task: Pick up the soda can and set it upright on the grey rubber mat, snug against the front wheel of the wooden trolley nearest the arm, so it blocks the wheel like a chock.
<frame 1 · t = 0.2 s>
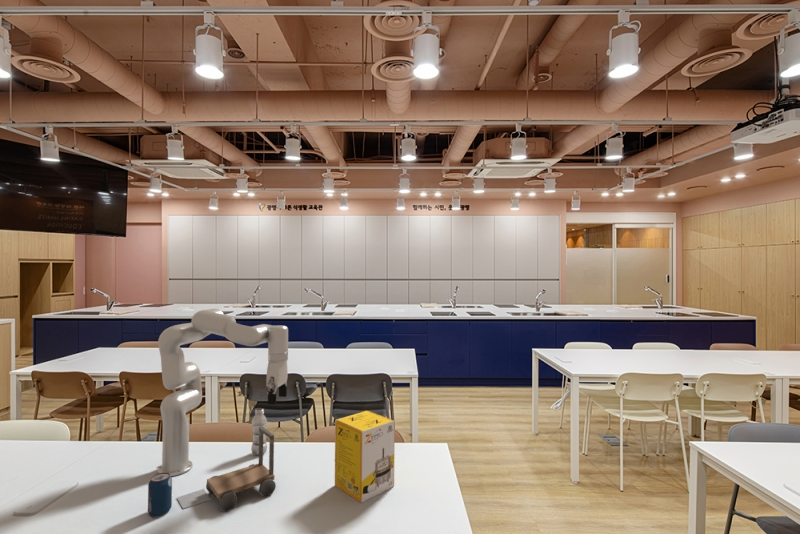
hand: (277, 400, 159), 31 cm above the table, tool pointing down, fingers open, 9 cm apart
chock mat: (193, 499, 144), on the table
trolley: (240, 493, 148), on the table
packaging box: (364, 486, 154), on the table
soda can: (159, 513, 136), on the table
plastic bottle: (259, 454, 181), on the table
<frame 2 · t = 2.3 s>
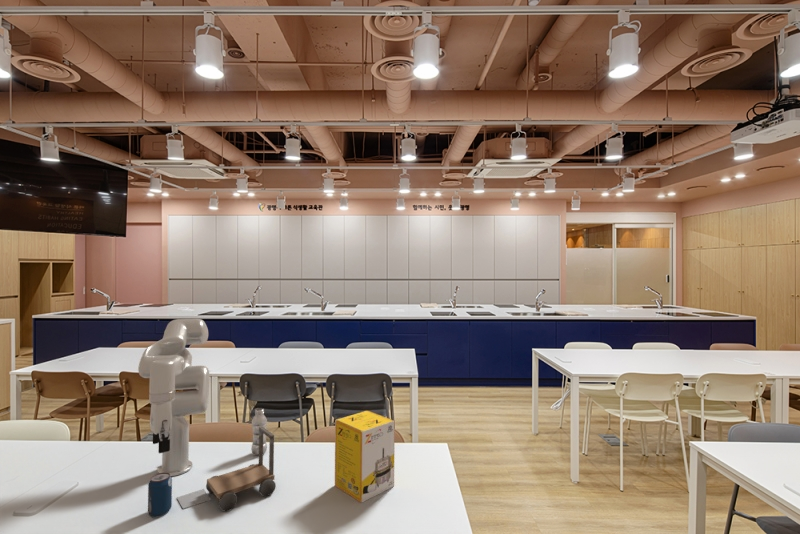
hand: (161, 447, 136), 22 cm above the table, tool pointing down, fingers open, 9 cm apart
nothing on the table moved.
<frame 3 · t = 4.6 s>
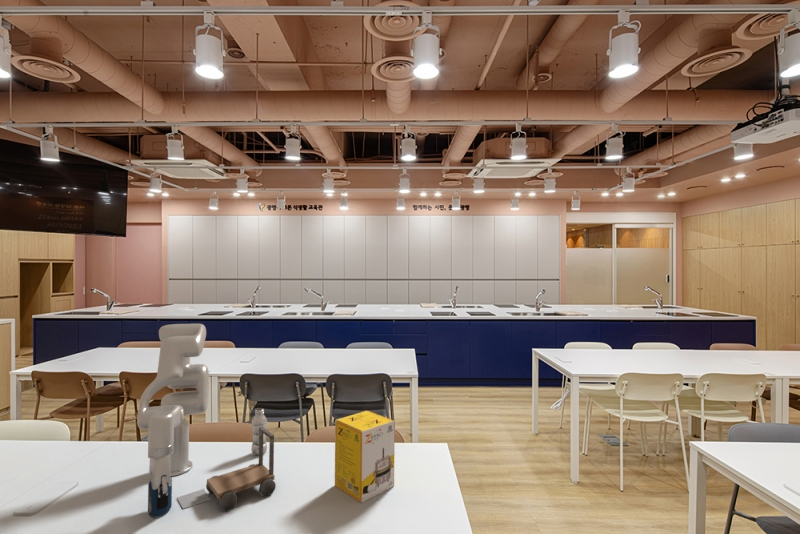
hand: (159, 502, 136), 3 cm above the table, tool pointing down, fingers closed on soda can, 6 cm apart
soda can: (159, 512, 136), on the table, touching gripper
everything else where it was.
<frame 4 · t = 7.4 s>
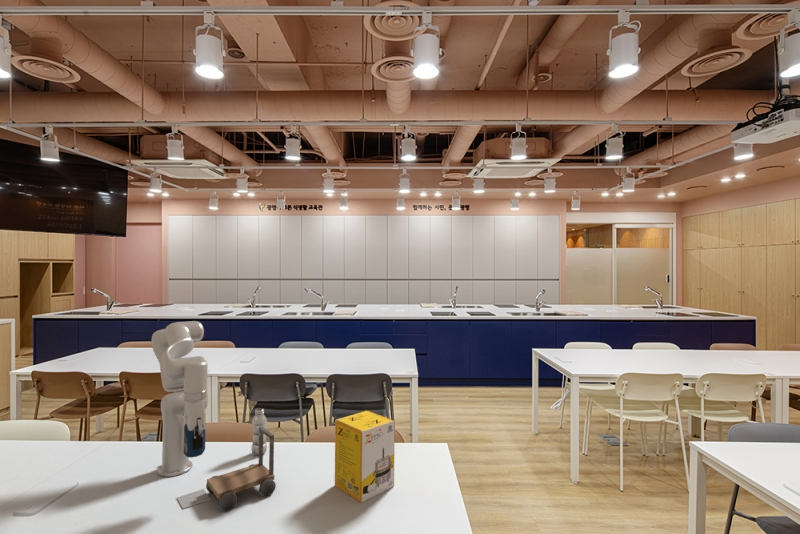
hand: (194, 444, 144), 19 cm above the table, tool pointing down, fingers closed on soda can, 6 cm apart
soda can: (194, 454, 144), point 16 cm above the table, touching gripper
everything else where it was.
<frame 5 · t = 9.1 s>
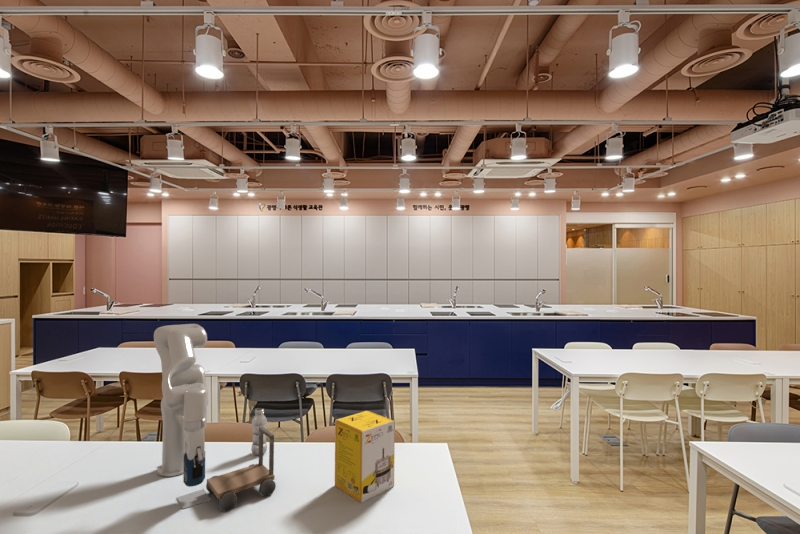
hand: (194, 473, 144), 9 cm above the table, tool pointing down, fingers closed on soda can, 6 cm apart
soda can: (194, 483, 144), point 6 cm above the table, touching gripper
everything else where it was.
when the fingers open (5 cm above the table, at t = 10.5 s): soda can drops 1 cm, resting on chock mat.
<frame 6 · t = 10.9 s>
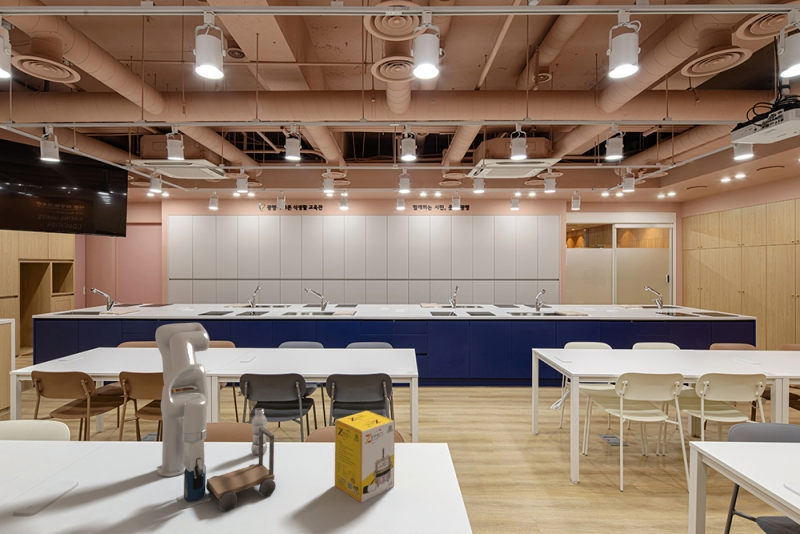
hand: (194, 482, 144), 6 cm above the table, tool pointing down, fingers open, 9 cm apart
soda can: (194, 498, 144), resting on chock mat
everything else where it was.
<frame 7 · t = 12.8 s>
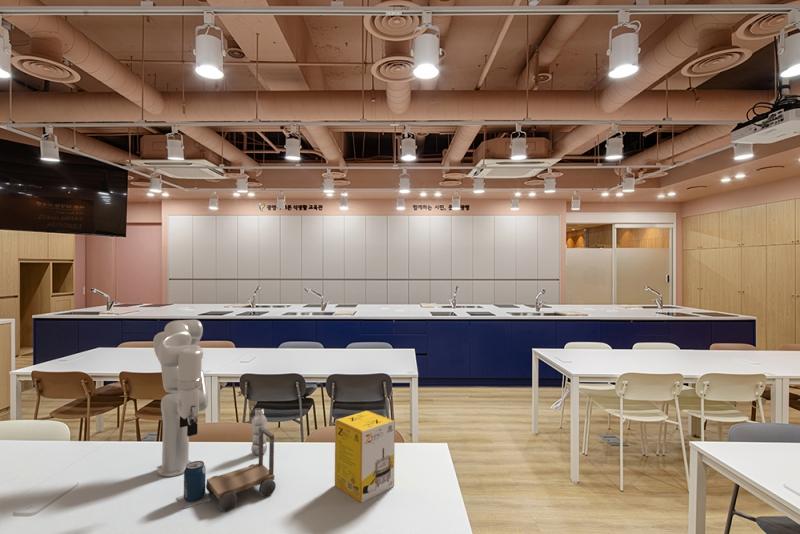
hand: (188, 430, 145), 24 cm above the table, tool pointing down, fingers open, 9 cm apart
nothing on the table moved.
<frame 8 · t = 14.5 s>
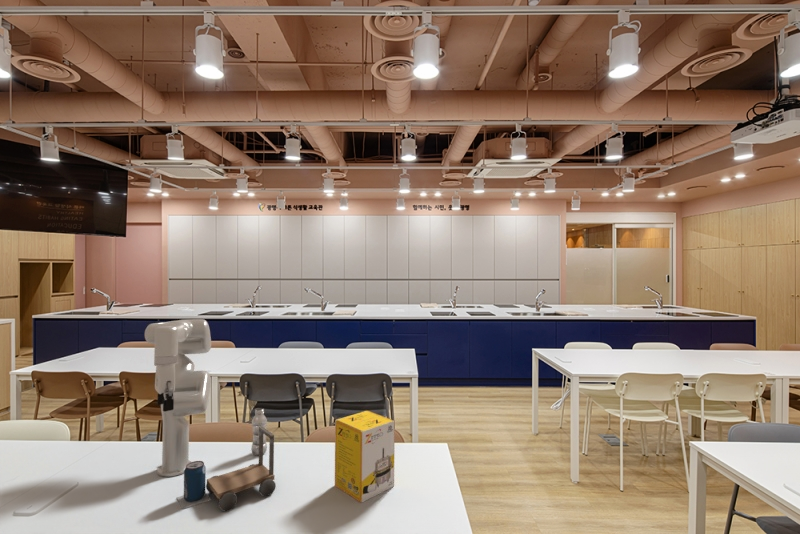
hand: (165, 407, 146), 32 cm above the table, tool pointing down, fingers open, 9 cm apart
nothing on the table moved.
at the end: soda can 0.6 cm from the target spot on the table beside the trolley, resting on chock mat; soda can tilted 0°; the gripper is holding nothing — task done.
